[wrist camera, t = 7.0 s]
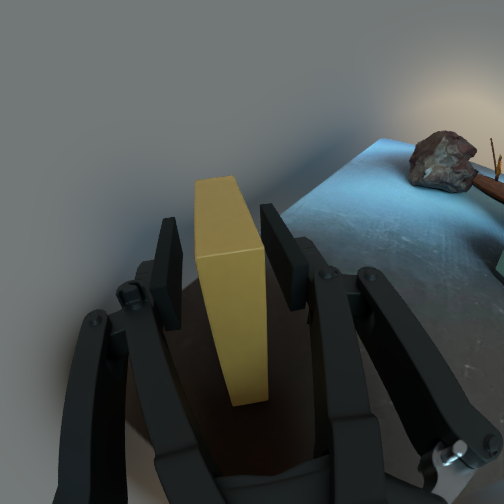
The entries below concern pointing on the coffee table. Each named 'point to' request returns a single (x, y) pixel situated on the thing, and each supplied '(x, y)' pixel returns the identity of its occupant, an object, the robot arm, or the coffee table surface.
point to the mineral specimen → (443, 162)
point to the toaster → (500, 269)
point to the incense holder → (491, 181)
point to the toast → (233, 286)
